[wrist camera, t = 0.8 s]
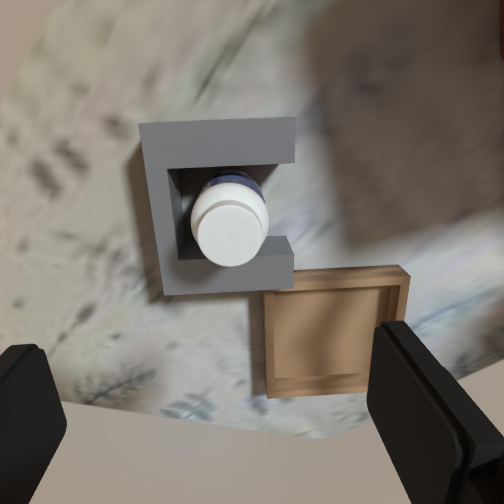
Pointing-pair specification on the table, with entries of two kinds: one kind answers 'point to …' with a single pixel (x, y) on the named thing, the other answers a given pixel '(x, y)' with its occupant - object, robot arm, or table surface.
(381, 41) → the table surface
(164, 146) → the dock
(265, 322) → the tray
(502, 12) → the plant pot
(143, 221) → the table surface
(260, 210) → the pill bottle
